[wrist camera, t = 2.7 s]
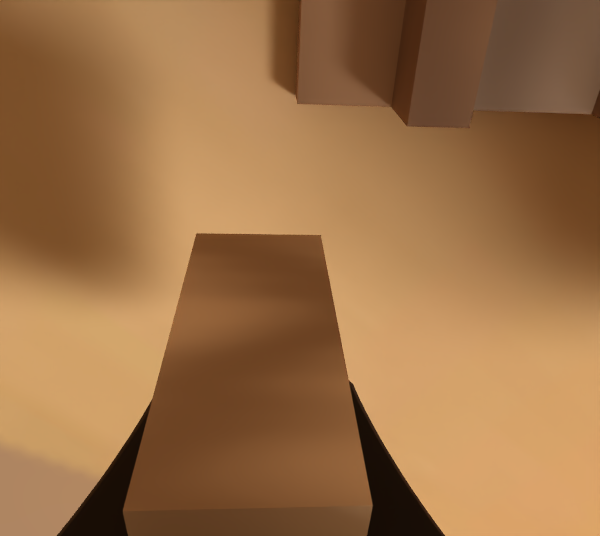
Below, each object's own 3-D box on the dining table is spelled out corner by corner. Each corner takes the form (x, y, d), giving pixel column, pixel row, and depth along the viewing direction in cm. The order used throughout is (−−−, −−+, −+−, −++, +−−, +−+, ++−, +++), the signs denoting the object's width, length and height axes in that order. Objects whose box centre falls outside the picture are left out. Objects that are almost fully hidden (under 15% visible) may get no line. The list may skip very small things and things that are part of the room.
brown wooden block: (323, 235, 10) (378, 504, 5) (305, 461, 14) (328, 754, 9) (194, 233, 10) (117, 511, 5) (210, 463, 14) (175, 762, 9)
